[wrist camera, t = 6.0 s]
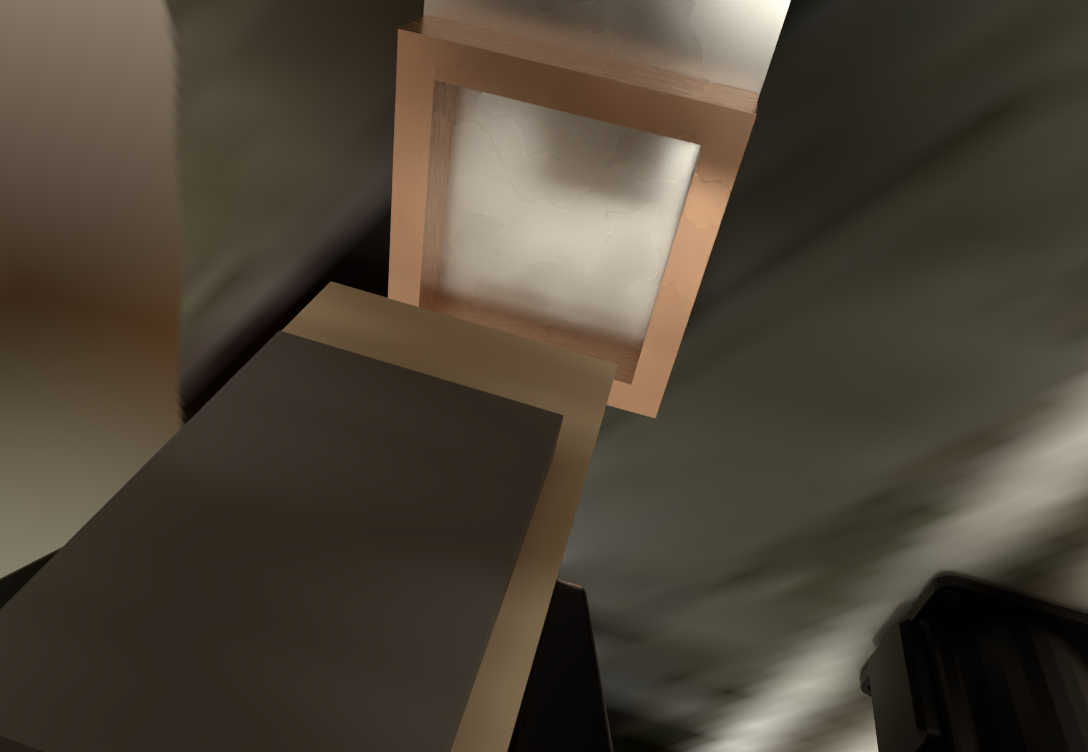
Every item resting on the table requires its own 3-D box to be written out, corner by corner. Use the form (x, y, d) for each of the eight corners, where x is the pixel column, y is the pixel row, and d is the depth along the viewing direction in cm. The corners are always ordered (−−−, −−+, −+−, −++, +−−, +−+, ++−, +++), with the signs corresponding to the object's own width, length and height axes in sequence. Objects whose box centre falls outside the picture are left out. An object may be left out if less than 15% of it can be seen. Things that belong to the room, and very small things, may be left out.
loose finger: (629, 327, 9) (425, 1036, 4) (560, 558, 12) (385, 1159, 7) (330, 242, 10) (-254, 777, 4) (330, 485, 12) (-19, 1000, 7)
